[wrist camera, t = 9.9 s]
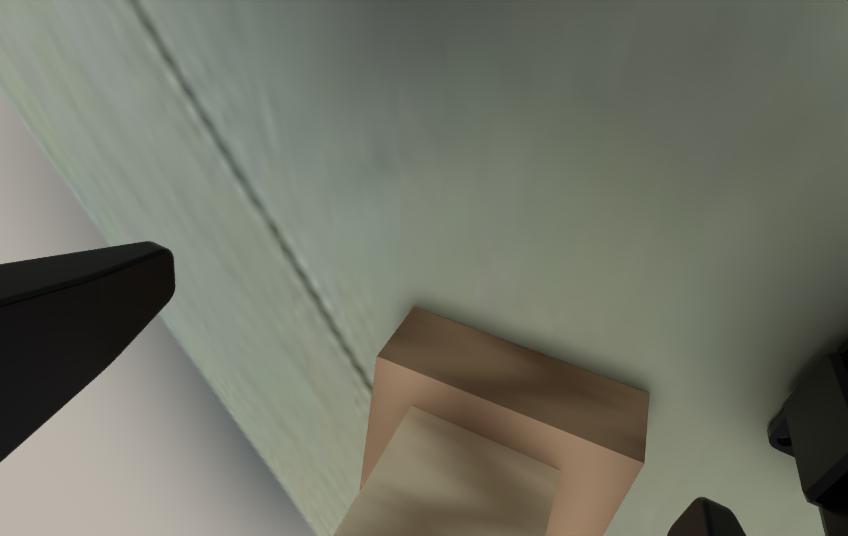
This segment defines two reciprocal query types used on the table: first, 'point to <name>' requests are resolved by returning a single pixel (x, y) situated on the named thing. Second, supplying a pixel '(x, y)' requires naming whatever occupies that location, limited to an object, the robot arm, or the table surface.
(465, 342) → the walnut block
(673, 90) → the table surface
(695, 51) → the table surface
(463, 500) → the maple cube
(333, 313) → the table surface
